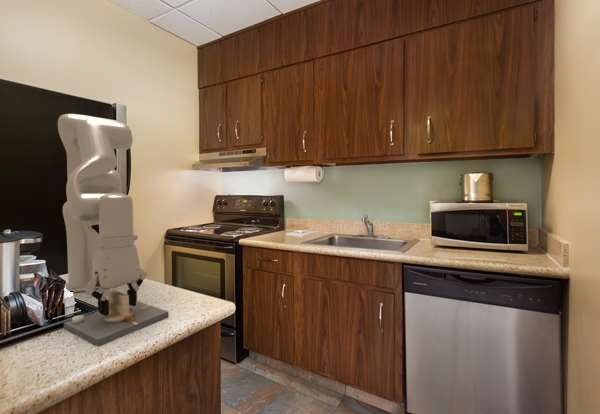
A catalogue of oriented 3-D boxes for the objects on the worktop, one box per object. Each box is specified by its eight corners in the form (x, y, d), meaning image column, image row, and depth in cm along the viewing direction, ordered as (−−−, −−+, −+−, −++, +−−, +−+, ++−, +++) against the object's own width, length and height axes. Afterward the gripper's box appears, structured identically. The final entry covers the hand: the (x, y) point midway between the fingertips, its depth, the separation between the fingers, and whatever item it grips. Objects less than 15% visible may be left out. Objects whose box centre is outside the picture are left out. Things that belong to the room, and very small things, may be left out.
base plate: (63, 328, 74) (63, 318, 74) (134, 304, 90) (134, 296, 90) (98, 346, 66) (98, 334, 66) (168, 316, 82) (168, 307, 82)
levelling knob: (97, 318, 77) (96, 295, 76) (124, 309, 83) (123, 287, 82) (119, 327, 72) (118, 302, 71) (146, 317, 78) (145, 294, 77)
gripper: (140, 236, 86) (141, 296, 87) (71, 245, 71) (73, 318, 72) (156, 238, 82) (157, 301, 84) (87, 249, 67) (89, 325, 68)
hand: (118, 308), depth 78 cm, fingers open, 6 cm apart
